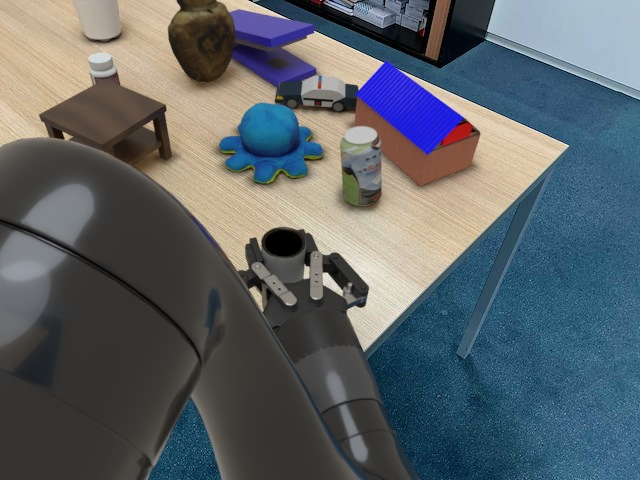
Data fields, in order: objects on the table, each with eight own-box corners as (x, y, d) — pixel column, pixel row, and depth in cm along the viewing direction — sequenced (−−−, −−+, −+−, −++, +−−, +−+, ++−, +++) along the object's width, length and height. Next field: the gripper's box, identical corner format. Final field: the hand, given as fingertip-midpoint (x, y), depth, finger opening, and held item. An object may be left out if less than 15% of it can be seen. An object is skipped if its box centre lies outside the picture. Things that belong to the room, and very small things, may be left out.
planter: (285, 283, 64) (287, 220, 57) (309, 307, 62) (315, 245, 55) (254, 301, 62) (252, 238, 55) (278, 327, 60) (279, 265, 53)
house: (402, 110, 106) (412, 53, 97) (473, 166, 94) (492, 107, 86) (351, 126, 101) (358, 68, 92) (419, 187, 89) (434, 127, 81)
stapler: (277, 89, 108) (277, 42, 101) (197, 37, 122) (192, -8, 115) (319, 72, 114) (322, 26, 107) (239, 24, 128) (236, -19, 121)
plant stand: (116, 198, 83) (102, 144, 76) (57, 168, 88) (38, 114, 80) (174, 156, 91) (166, 104, 84) (117, 130, 96) (105, 78, 89)
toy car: (277, 94, 107) (277, 70, 104) (358, 99, 107) (361, 76, 104) (274, 107, 104) (274, 84, 100) (358, 113, 104) (361, 90, 100)
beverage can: (374, 215, 84) (385, 152, 75) (329, 203, 85) (335, 140, 77) (384, 191, 88) (396, 128, 80) (341, 180, 90) (348, 117, 81)
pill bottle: (129, 97, 103) (119, 56, 97) (109, 108, 100) (99, 66, 94) (111, 89, 105) (101, 48, 99) (91, 100, 102) (79, 58, 96)
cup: (70, 35, 119) (53, -26, 110) (107, 21, 125) (94, -38, 116) (99, 50, 115) (84, -12, 106) (136, 35, 121) (125, -25, 112)
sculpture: (227, 63, 114) (220, -38, 100) (246, 82, 110) (241, -22, 95) (166, 78, 109) (150, -27, 95) (183, 98, 104) (169, -9, 90)
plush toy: (210, 132, 97) (206, 91, 91) (300, 117, 102) (301, 77, 96) (235, 191, 86) (232, 148, 80) (334, 171, 91) (338, 129, 85)
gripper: (409, 331, 46) (342, 202, 57) (243, 371, 43) (206, 224, 54) (395, 377, 52) (336, 250, 63) (246, 416, 48) (212, 274, 59)
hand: (276, 239), depth 58 cm, fingers closed on planter, 4 cm apart
